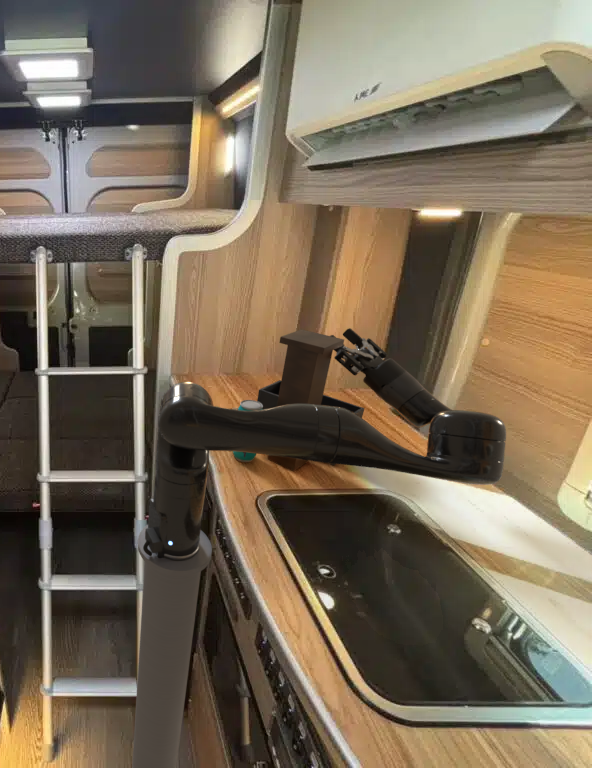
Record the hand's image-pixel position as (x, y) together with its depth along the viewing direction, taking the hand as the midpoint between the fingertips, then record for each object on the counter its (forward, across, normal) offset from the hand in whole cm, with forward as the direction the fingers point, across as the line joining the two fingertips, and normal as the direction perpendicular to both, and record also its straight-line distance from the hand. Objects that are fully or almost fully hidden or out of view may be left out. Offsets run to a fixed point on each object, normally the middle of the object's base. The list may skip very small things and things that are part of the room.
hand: (337, 334), depth 111 cm
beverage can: (-9, +19, +31) cm, 37 cm away
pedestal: (-15, +11, +27) cm, 33 cm away
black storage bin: (-13, 0, +28) cm, 31 cm away
